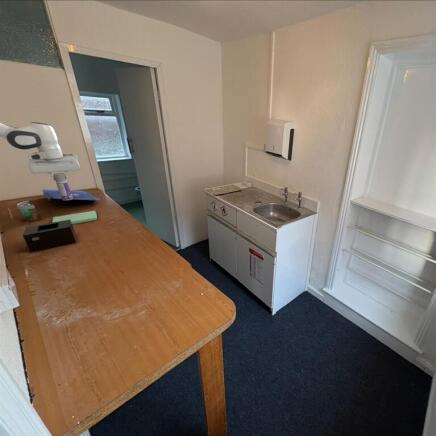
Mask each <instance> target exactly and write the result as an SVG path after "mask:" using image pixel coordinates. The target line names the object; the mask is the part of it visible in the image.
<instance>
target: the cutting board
mask: <svg viewBox="0 0 436 436" xmlns="http://www.w3.org/2000/svg"><path fill="white" fill-rule="evenodd" d="M64 220H71V222H72V225H75V224H82V223H86V222H92V221H93V222H94V221H98V216H97V211H96V210H90V211H85V212H77V213H71V214H66V215H59V216H53V217H52V221H51V223H53V222H58V221H64Z"/></svg>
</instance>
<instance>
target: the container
mask: <svg viewBox="0 0 436 436" xmlns="http://www.w3.org/2000/svg"><path fill="white" fill-rule="evenodd" d="M52 175H53V176H54V178H55V180H54V181H55V184H56V187H57V190H59V192H60V195H61V198H62V199H61V200H62V201H71V200H74V199H73V197H72V194H71V191H70V190H71V189H70V186H69V185H70V184H68V183H69V182H68V179H65V175H66V174H65V172H55V173H52Z"/></svg>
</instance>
